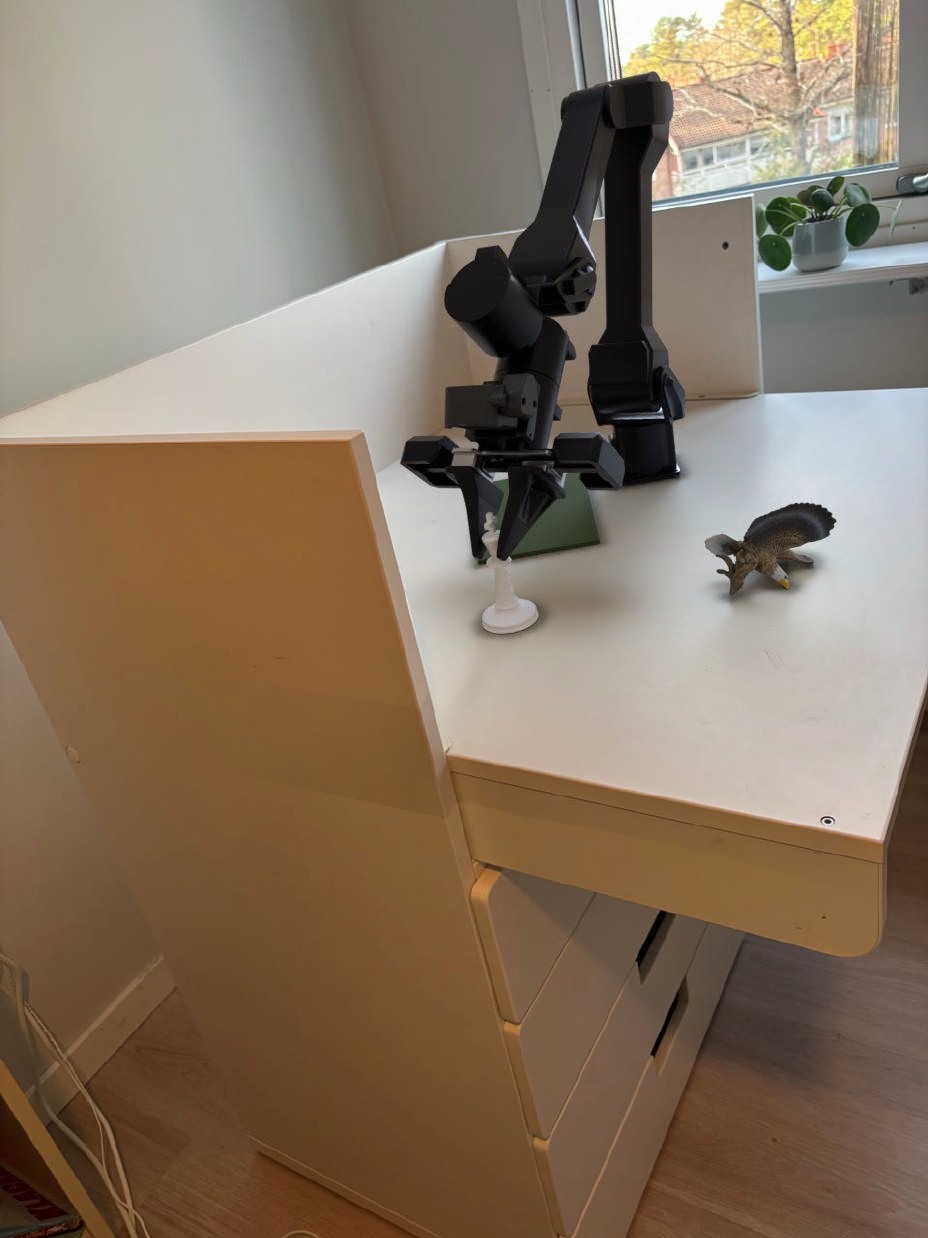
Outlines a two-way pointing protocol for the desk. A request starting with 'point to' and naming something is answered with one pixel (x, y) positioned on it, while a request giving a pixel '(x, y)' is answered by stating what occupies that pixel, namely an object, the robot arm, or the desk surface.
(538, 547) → the green board
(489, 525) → the chess piece
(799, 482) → the desk surface
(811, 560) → the eagle figurine
